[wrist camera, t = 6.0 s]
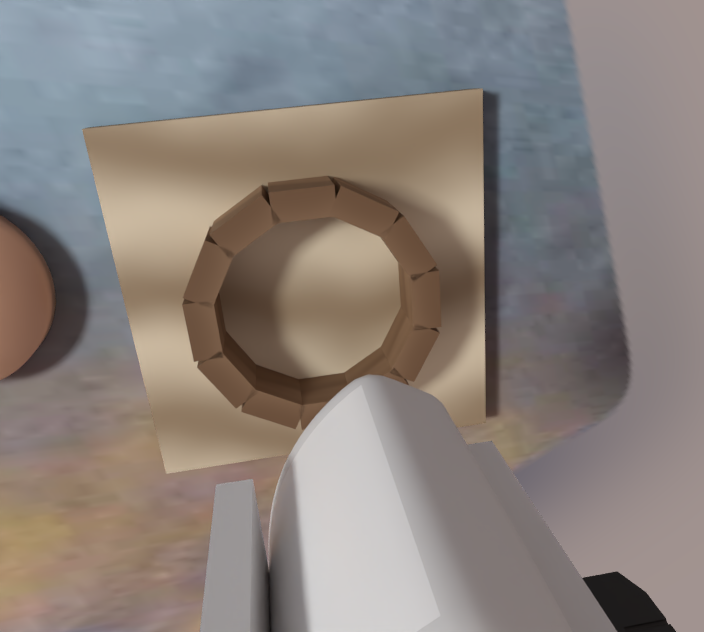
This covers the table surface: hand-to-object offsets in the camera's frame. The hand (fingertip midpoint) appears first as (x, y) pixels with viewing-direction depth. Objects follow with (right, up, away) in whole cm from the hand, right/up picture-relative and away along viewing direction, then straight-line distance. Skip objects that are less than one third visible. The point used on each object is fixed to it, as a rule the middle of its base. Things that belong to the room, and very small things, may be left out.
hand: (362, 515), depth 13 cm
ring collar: (-2, +6, +15) cm, 16 cm away
